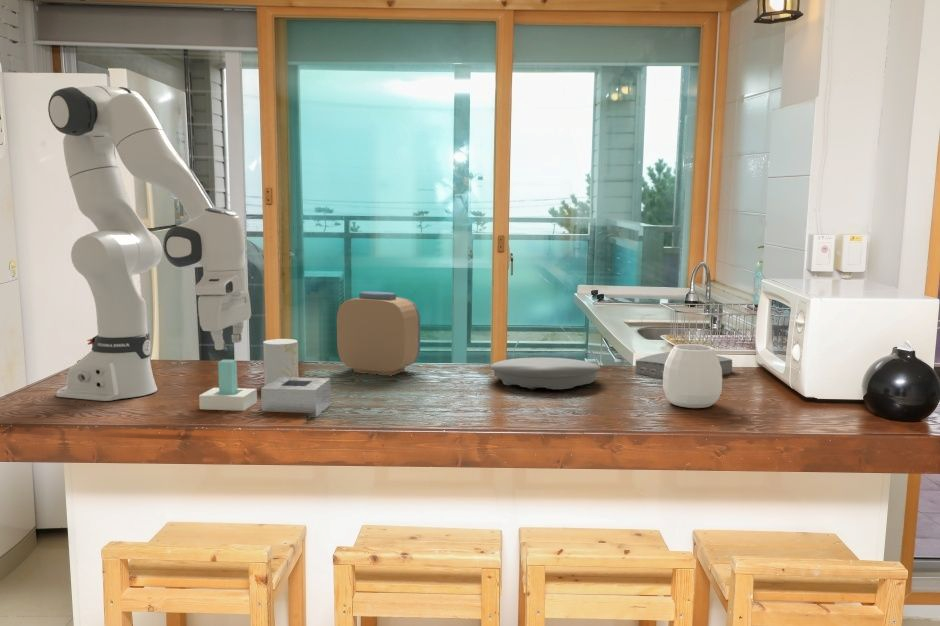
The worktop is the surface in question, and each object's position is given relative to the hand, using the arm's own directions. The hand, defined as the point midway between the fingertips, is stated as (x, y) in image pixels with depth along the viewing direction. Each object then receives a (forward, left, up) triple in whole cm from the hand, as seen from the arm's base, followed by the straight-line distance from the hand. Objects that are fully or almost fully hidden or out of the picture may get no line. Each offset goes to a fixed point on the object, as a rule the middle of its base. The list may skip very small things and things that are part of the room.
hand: (228, 345), depth 189 cm
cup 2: (+102, +18, -15) cm, 105 cm away
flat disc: (+68, +38, -15) cm, 80 cm away
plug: (-1, 0, -13) cm, 13 cm away
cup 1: (+4, +21, -15) cm, 26 cm away
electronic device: (+105, +57, -15) cm, 121 cm away
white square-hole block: (-1, 0, -15) cm, 14 cm away
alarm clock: (+23, +46, -15) cm, 54 cm away
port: (+14, +2, -14) cm, 21 cm away
